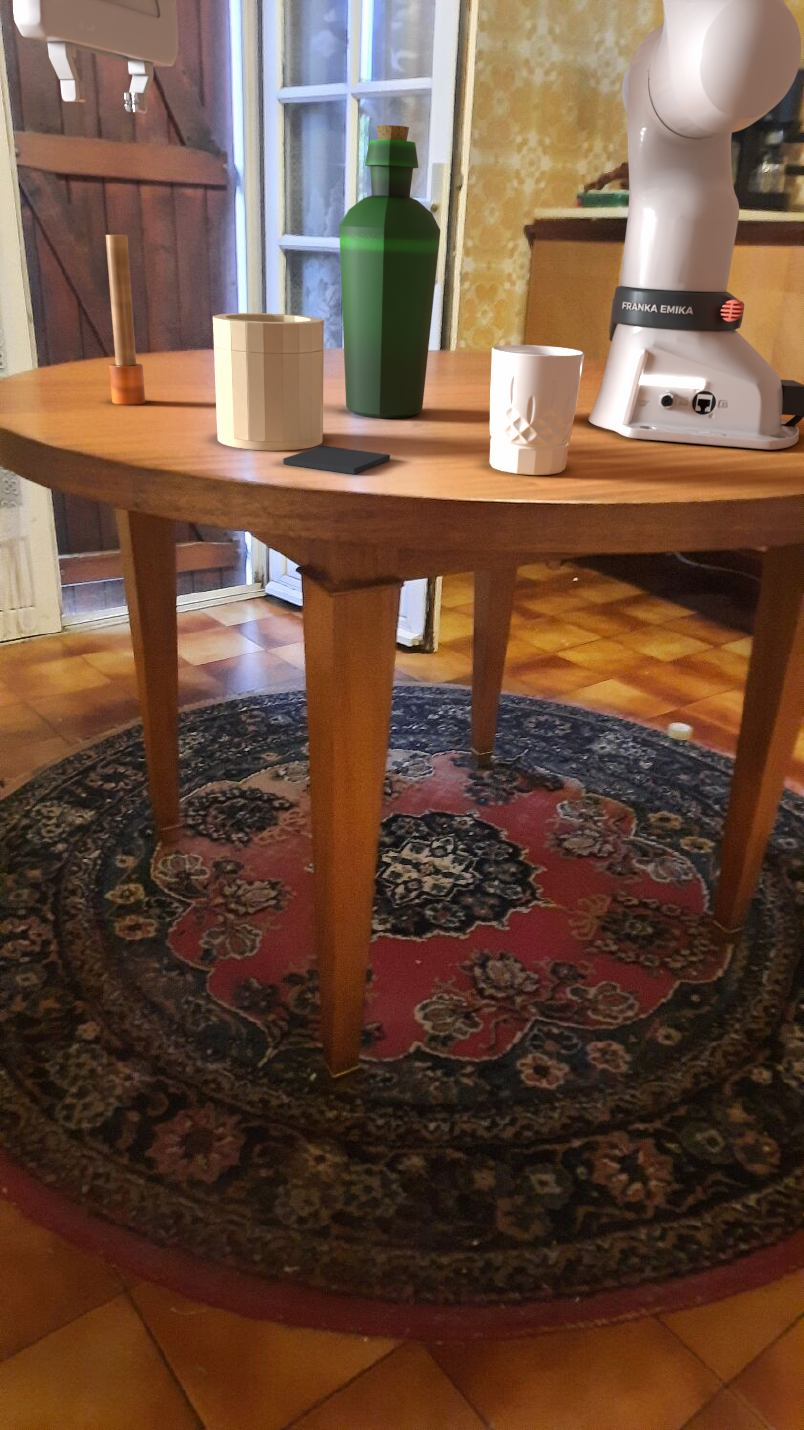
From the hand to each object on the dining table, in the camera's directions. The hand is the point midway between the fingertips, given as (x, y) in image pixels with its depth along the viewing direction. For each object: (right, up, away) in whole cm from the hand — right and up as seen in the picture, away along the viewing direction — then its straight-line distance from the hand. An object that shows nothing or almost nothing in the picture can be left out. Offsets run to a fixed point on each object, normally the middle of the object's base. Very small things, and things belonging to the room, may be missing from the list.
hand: (106, 108), depth 102 cm
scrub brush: (-1, -26, +12) cm, 29 cm away
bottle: (+27, -27, +13) cm, 41 cm away
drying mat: (+24, -38, -11) cm, 47 cm away
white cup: (+41, -39, -10) cm, 57 cm away
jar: (+17, -34, -4) cm, 38 cm away
